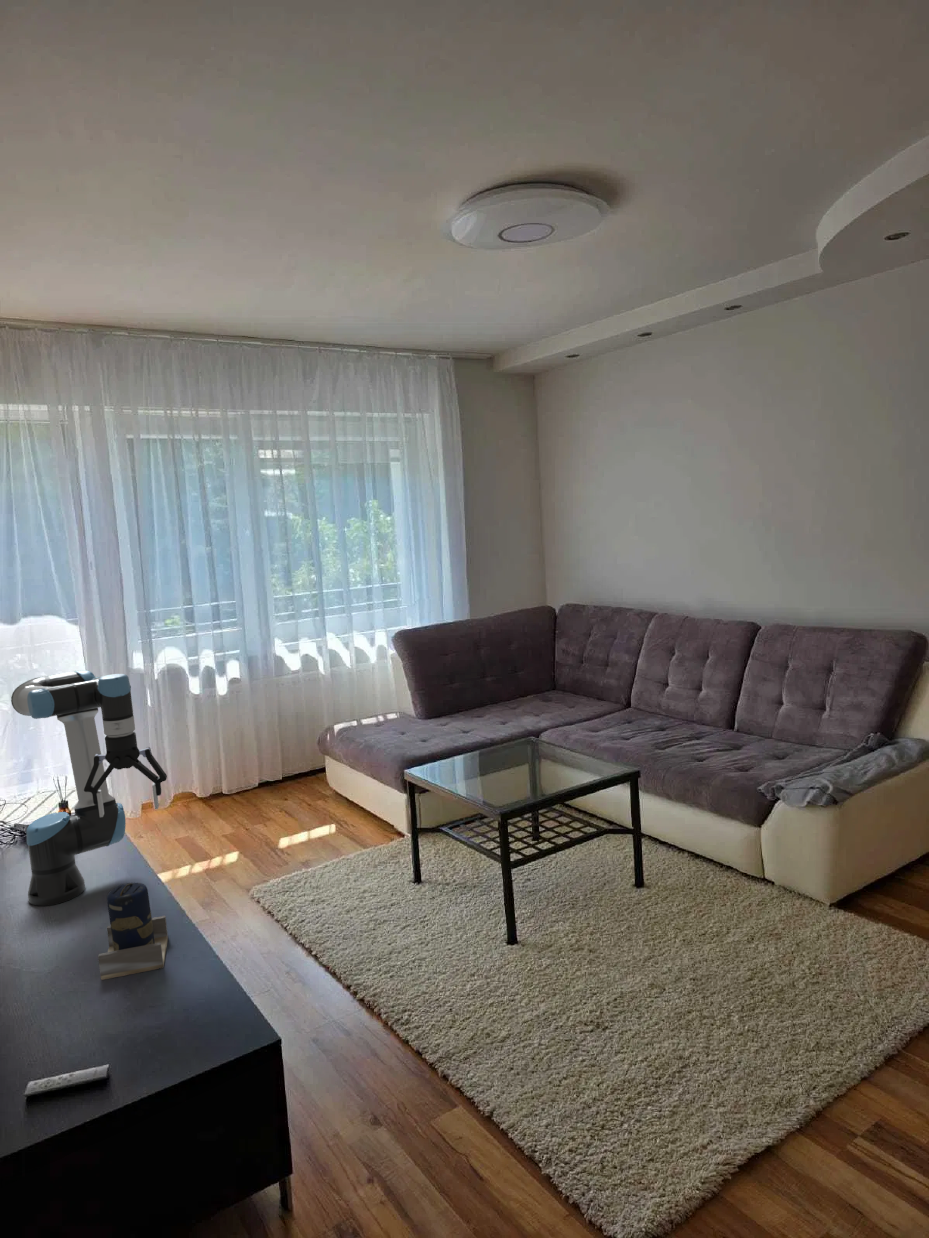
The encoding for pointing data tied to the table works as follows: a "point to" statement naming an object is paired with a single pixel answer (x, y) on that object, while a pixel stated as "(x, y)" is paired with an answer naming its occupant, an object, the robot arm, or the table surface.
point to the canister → (130, 916)
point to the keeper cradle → (135, 954)
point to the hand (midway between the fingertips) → (129, 811)
